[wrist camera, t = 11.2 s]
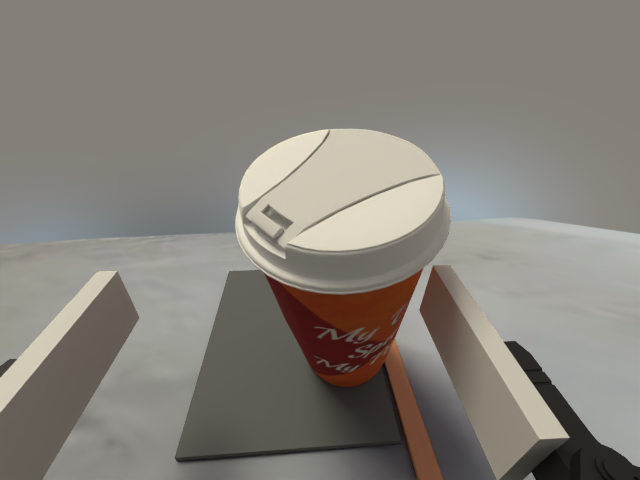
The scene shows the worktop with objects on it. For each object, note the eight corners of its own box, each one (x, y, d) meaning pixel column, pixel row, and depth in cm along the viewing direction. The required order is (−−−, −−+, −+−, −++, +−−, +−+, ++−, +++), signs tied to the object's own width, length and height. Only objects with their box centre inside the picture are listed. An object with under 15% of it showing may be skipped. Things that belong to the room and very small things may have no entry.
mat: (353, 270, 28) (353, 267, 28) (400, 443, 16) (401, 440, 16) (229, 274, 27) (229, 271, 27) (176, 461, 15) (174, 457, 15)
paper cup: (348, 438, 16) (344, 326, 6) (268, 345, 20) (182, 183, 10) (426, 341, 20) (508, 162, 9) (343, 278, 24) (337, 105, 13)
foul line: (368, 266, 29) (368, 264, 29) (447, 499, 14) (449, 497, 14) (356, 267, 29) (356, 264, 29) (423, 501, 14) (425, 499, 14)
